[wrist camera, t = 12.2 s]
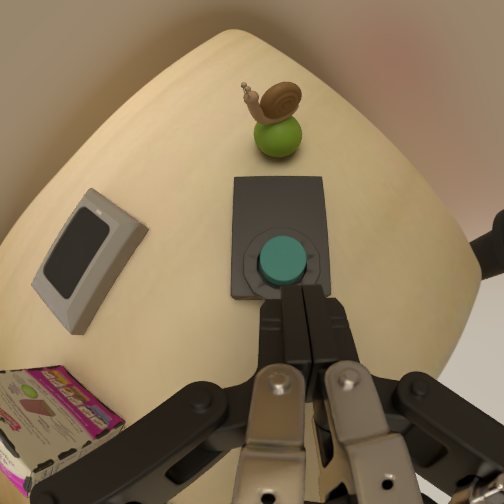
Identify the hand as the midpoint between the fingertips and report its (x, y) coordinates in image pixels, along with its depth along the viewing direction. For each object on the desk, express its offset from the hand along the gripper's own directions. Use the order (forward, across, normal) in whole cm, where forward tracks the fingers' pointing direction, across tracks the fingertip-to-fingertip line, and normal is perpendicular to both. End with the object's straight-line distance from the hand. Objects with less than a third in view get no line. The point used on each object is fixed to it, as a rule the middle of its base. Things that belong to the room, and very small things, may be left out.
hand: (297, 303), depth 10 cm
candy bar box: (+4, +23, +21) cm, 31 cm away
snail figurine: (+26, 0, -1) cm, 26 cm away
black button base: (+18, 0, +7) cm, 19 cm away
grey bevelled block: (+16, +22, +8) cm, 29 cm away
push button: (+12, 0, +6) cm, 14 cm away
